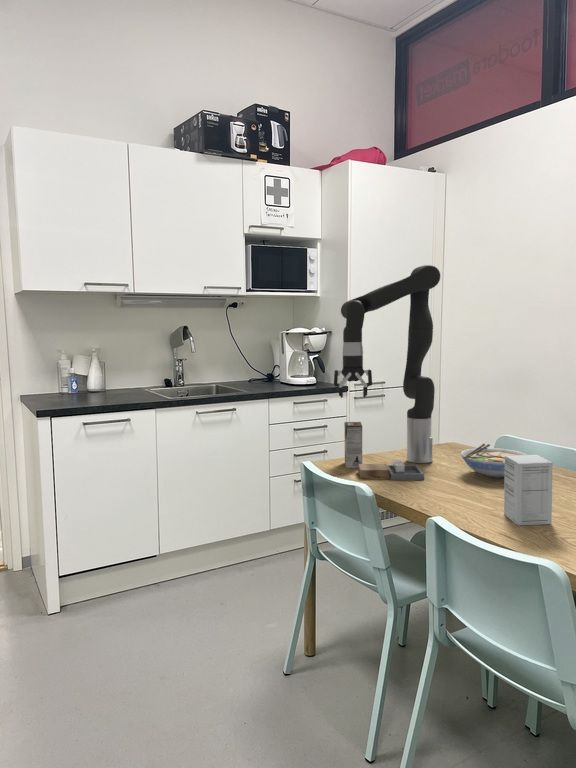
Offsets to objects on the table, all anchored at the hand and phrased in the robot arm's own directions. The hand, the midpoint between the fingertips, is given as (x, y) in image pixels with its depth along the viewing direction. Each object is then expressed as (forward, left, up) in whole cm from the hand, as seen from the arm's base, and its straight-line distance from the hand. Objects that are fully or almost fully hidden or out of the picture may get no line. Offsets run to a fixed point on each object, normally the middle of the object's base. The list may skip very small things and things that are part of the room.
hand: (352, 397), depth 215 cm
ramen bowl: (-48, +16, -26) cm, 57 cm away
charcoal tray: (-17, +15, -26) cm, 35 cm away
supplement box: (-42, +62, -26) cm, 79 cm away
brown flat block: (-6, +15, -26) cm, 31 cm away
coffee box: (0, 0, -26) cm, 26 cm away
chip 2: (-13, +18, -24) cm, 32 cm away
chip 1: (-13, +13, -24) cm, 30 cm away
